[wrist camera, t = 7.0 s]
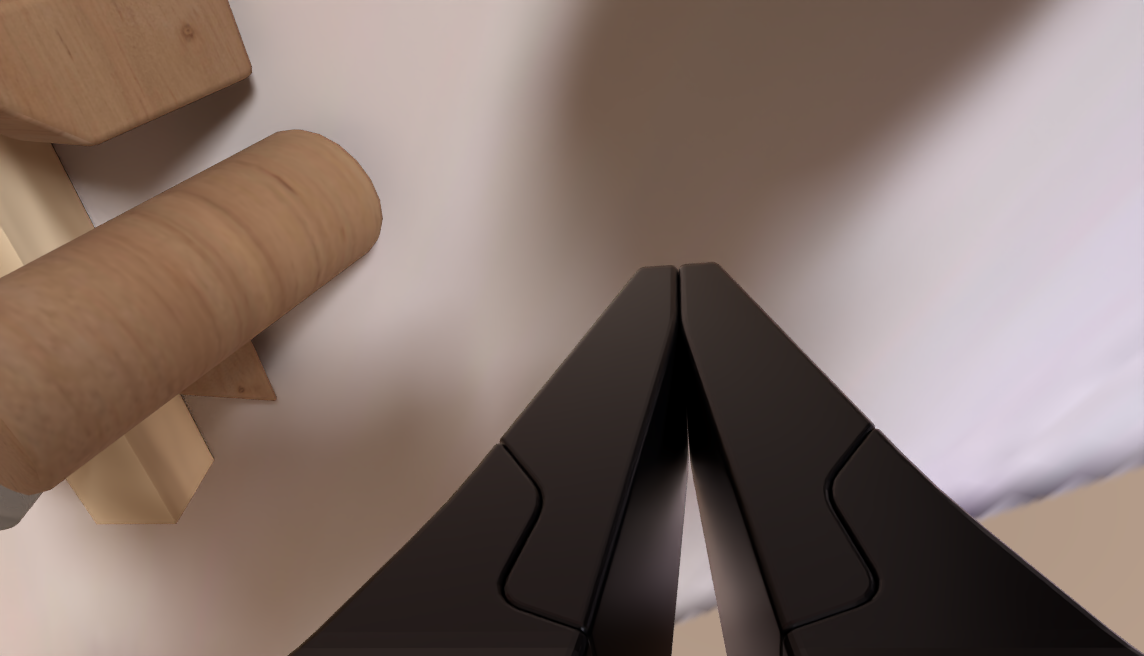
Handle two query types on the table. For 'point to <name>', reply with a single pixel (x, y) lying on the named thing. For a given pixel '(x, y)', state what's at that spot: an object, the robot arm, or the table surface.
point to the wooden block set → (154, 233)
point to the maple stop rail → (161, 441)
